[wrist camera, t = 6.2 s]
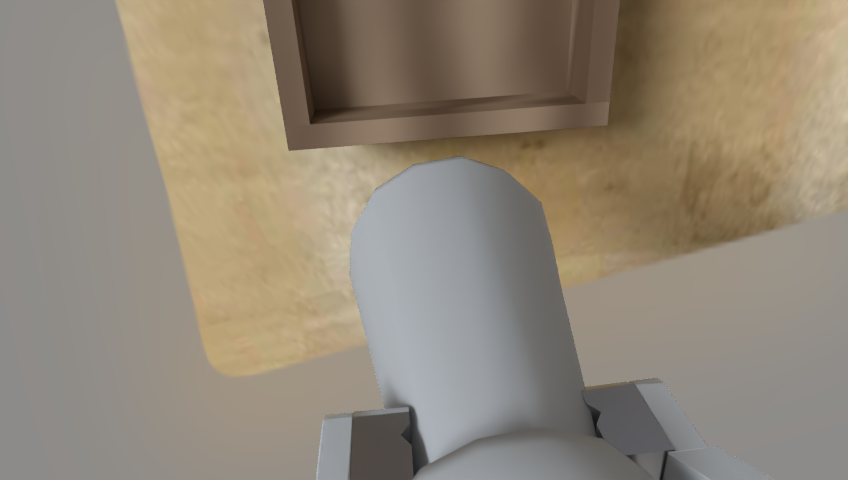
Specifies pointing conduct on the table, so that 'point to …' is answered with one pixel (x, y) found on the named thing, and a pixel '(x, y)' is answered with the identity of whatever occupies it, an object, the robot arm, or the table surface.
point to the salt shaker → (475, 328)
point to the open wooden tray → (439, 67)
